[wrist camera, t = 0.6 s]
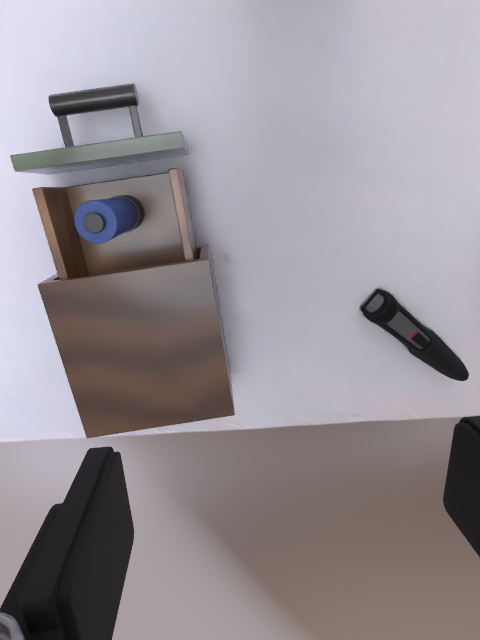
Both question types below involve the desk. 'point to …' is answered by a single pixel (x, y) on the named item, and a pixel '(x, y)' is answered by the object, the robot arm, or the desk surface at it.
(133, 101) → the drawer
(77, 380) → the cabinet
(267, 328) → the desk surface
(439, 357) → the electric trimmer
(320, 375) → the desk surface
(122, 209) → the marker
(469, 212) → the desk surface
